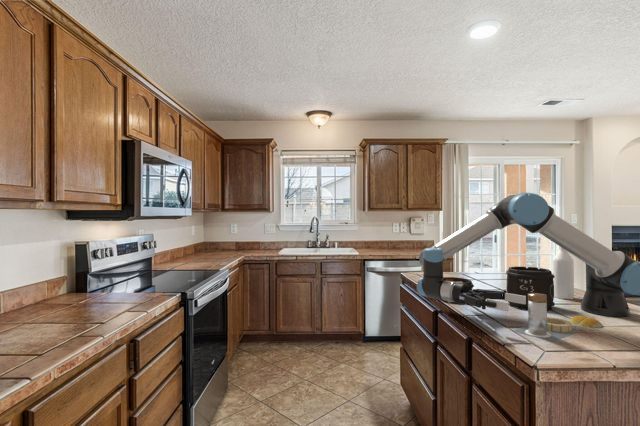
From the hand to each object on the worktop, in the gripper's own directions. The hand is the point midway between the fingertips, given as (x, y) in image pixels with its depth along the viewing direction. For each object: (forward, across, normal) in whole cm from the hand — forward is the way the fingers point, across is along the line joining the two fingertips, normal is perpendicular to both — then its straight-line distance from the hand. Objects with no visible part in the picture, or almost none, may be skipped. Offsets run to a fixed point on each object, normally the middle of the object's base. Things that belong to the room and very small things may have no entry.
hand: (517, 303), depth 114 cm
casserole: (-40, -31, -10) cm, 52 cm away
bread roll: (+12, -24, -10) cm, 29 cm away
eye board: (+6, -6, -10) cm, 13 cm away
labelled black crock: (-12, -42, -10) cm, 44 cm away
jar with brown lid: (+6, 0, -8) cm, 10 cm away
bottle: (-7, -70, -10) cm, 71 cm away
